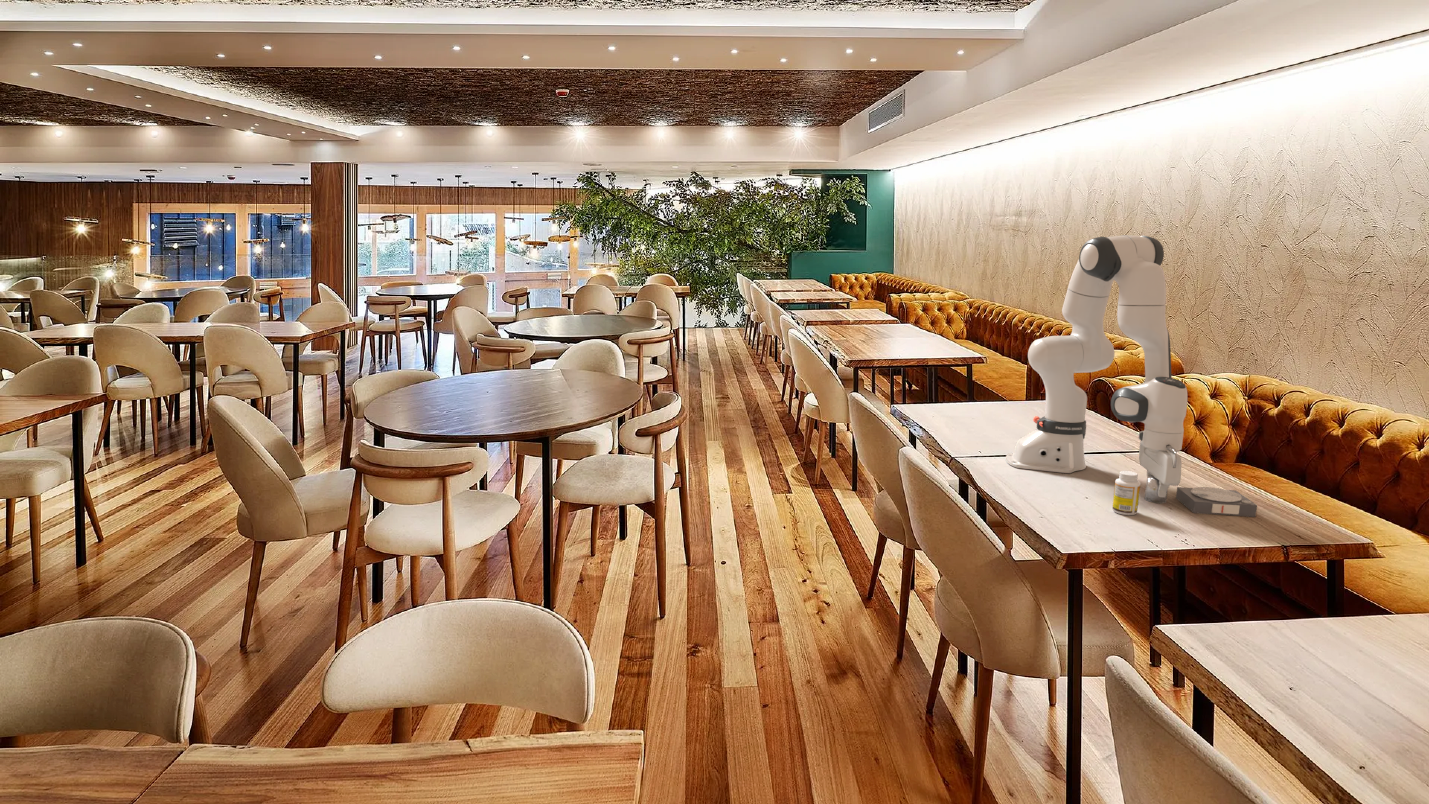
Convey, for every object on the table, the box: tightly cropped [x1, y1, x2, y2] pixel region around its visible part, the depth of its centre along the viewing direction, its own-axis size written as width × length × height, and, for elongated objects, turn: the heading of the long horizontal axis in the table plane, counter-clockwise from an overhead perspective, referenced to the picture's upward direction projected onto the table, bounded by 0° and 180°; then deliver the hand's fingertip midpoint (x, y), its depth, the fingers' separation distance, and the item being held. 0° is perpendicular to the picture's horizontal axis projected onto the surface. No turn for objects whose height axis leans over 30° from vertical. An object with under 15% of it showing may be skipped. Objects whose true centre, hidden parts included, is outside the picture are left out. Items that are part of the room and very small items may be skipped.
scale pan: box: [1191, 486, 1242, 503], centre depth 206 cm, size 11×11×1 cm
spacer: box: [1144, 475, 1169, 504], centre depth 211 cm, size 5×5×6 cm
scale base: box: [1175, 486, 1258, 518], centre depth 206 cm, size 14×12×3 cm
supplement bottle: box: [1112, 470, 1141, 516], centre depth 201 cm, size 6×6×10 cm
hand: (1156, 492), depth 211 cm, fingers open, 6 cm apart
